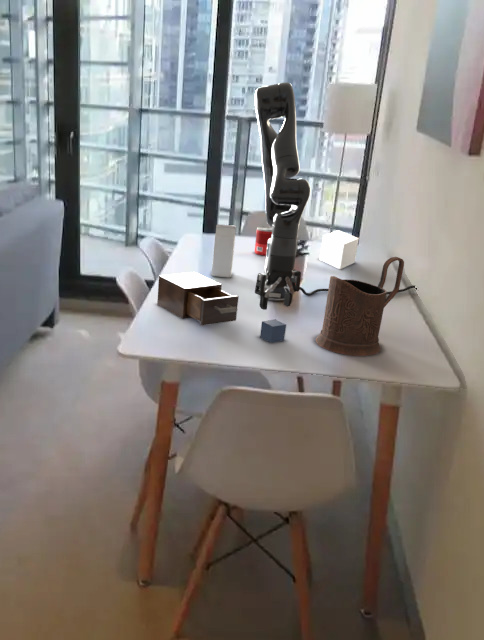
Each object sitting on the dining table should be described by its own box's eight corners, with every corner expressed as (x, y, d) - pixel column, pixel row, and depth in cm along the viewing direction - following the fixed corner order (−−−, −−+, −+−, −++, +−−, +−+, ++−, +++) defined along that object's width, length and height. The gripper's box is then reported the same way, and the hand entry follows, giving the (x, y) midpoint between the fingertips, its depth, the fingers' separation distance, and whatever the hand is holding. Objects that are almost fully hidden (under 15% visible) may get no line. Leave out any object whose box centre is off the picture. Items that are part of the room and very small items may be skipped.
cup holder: (302, 336, 213) (314, 253, 204) (366, 328, 222) (381, 249, 213) (342, 358, 198) (357, 270, 188) (409, 349, 207) (427, 265, 197)
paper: (321, 267, 291) (325, 242, 287) (317, 251, 317) (320, 228, 313) (358, 271, 289) (362, 245, 285) (351, 254, 315) (355, 231, 311)
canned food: (274, 256, 306) (277, 230, 302) (255, 255, 306) (258, 229, 302) (271, 252, 313) (274, 226, 309) (253, 251, 313) (255, 226, 309)
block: (273, 335, 213) (275, 319, 211) (284, 340, 209) (286, 324, 207) (259, 337, 211) (261, 321, 209) (270, 343, 207) (272, 326, 205)
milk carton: (230, 278, 271) (235, 227, 263) (211, 276, 272) (215, 226, 264) (231, 273, 277) (236, 224, 270) (213, 271, 278) (217, 222, 271)
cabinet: (219, 313, 230) (221, 284, 226) (182, 318, 224) (184, 288, 220) (192, 300, 243) (194, 271, 239) (157, 304, 236) (158, 275, 232)
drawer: (245, 325, 218) (248, 300, 214) (210, 330, 212) (213, 305, 209) (209, 307, 233) (211, 283, 230) (176, 311, 227) (178, 287, 224)
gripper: (293, 247, 206) (286, 301, 213) (253, 250, 200) (247, 306, 206) (311, 253, 200) (302, 308, 207) (270, 256, 194) (263, 314, 200)
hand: (275, 307), depth 206 cm, fingers open, 8 cm apart
